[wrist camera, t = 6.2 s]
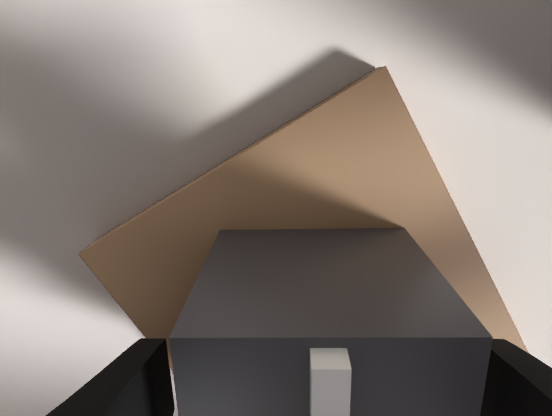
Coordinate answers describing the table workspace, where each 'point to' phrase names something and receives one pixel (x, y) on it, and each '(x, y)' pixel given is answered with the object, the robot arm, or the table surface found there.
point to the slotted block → (326, 329)
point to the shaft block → (301, 207)
